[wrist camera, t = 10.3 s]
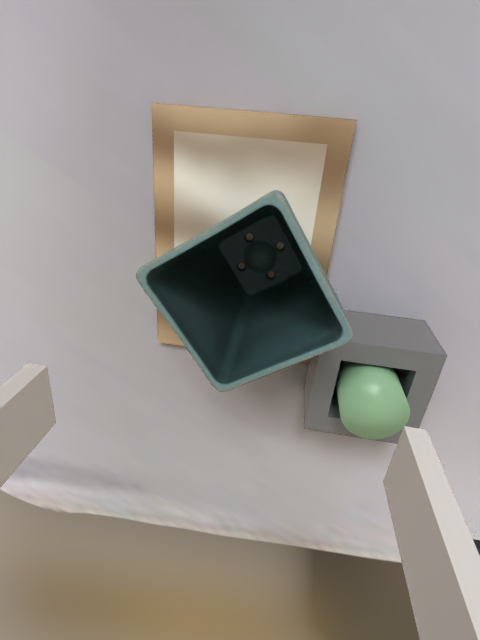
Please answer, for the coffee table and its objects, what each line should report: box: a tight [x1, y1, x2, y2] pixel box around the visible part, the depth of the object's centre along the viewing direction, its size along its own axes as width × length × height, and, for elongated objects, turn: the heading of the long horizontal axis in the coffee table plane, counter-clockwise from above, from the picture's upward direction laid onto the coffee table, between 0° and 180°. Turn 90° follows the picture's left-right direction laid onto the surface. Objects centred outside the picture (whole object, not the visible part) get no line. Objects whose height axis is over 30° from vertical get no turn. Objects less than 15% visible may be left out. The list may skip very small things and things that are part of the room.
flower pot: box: [136, 190, 353, 392], centre depth 24 cm, size 9×9×9 cm
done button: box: [336, 360, 410, 439], centre depth 27 cm, size 4×4×5 cm
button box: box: [304, 310, 447, 444], centre depth 29 cm, size 8×8×5 cm
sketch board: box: [152, 103, 357, 364], centre depth 28 cm, size 18×13×1 cm
